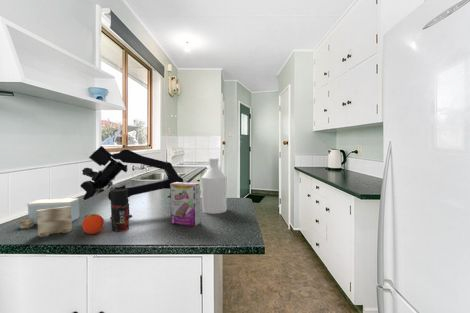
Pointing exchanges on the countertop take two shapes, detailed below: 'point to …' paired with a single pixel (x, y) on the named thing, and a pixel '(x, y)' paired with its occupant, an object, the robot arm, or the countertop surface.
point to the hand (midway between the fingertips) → (84, 199)
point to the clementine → (92, 223)
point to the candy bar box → (185, 203)
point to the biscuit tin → (53, 204)
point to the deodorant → (119, 210)
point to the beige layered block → (54, 220)
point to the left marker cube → (27, 223)
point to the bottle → (214, 189)
